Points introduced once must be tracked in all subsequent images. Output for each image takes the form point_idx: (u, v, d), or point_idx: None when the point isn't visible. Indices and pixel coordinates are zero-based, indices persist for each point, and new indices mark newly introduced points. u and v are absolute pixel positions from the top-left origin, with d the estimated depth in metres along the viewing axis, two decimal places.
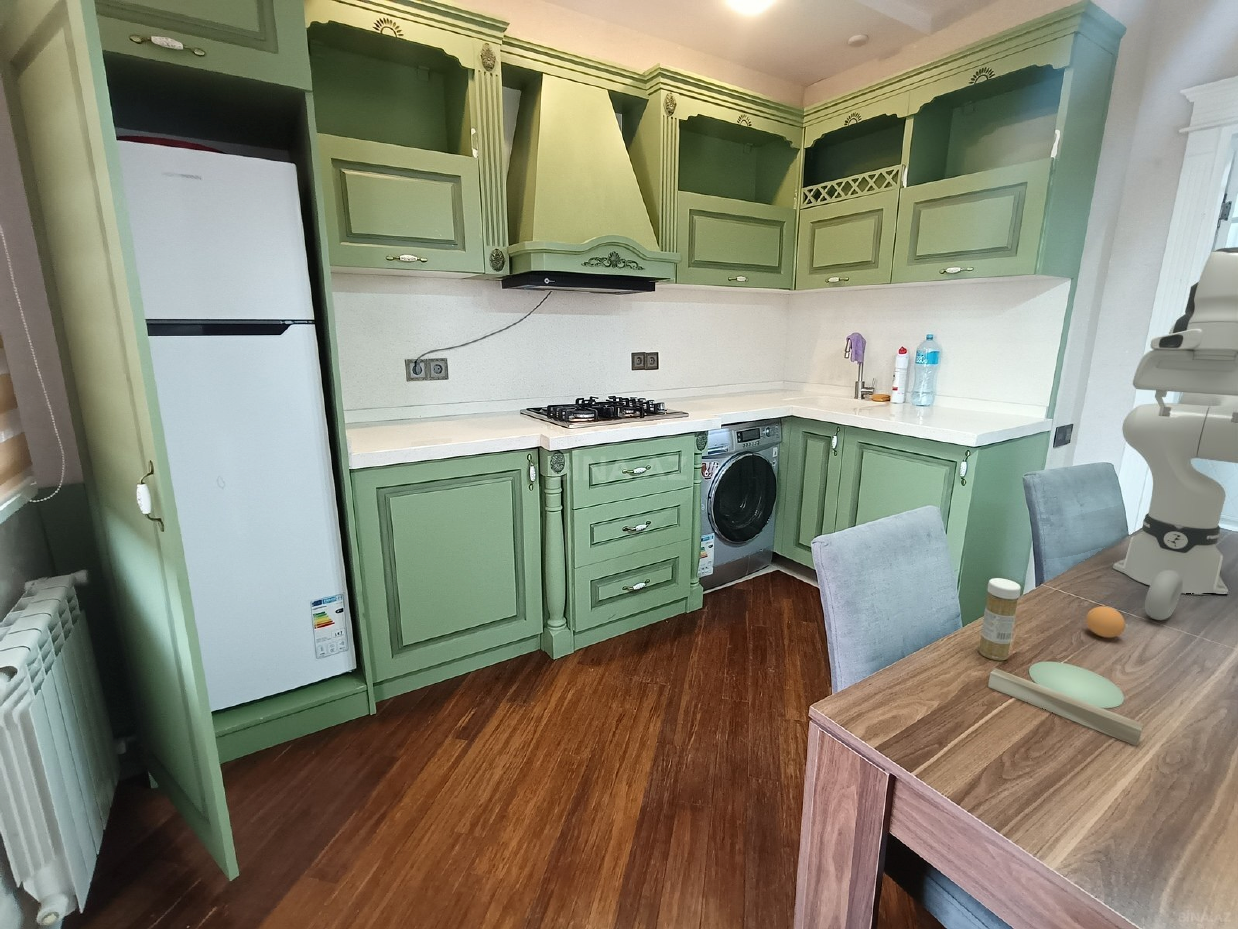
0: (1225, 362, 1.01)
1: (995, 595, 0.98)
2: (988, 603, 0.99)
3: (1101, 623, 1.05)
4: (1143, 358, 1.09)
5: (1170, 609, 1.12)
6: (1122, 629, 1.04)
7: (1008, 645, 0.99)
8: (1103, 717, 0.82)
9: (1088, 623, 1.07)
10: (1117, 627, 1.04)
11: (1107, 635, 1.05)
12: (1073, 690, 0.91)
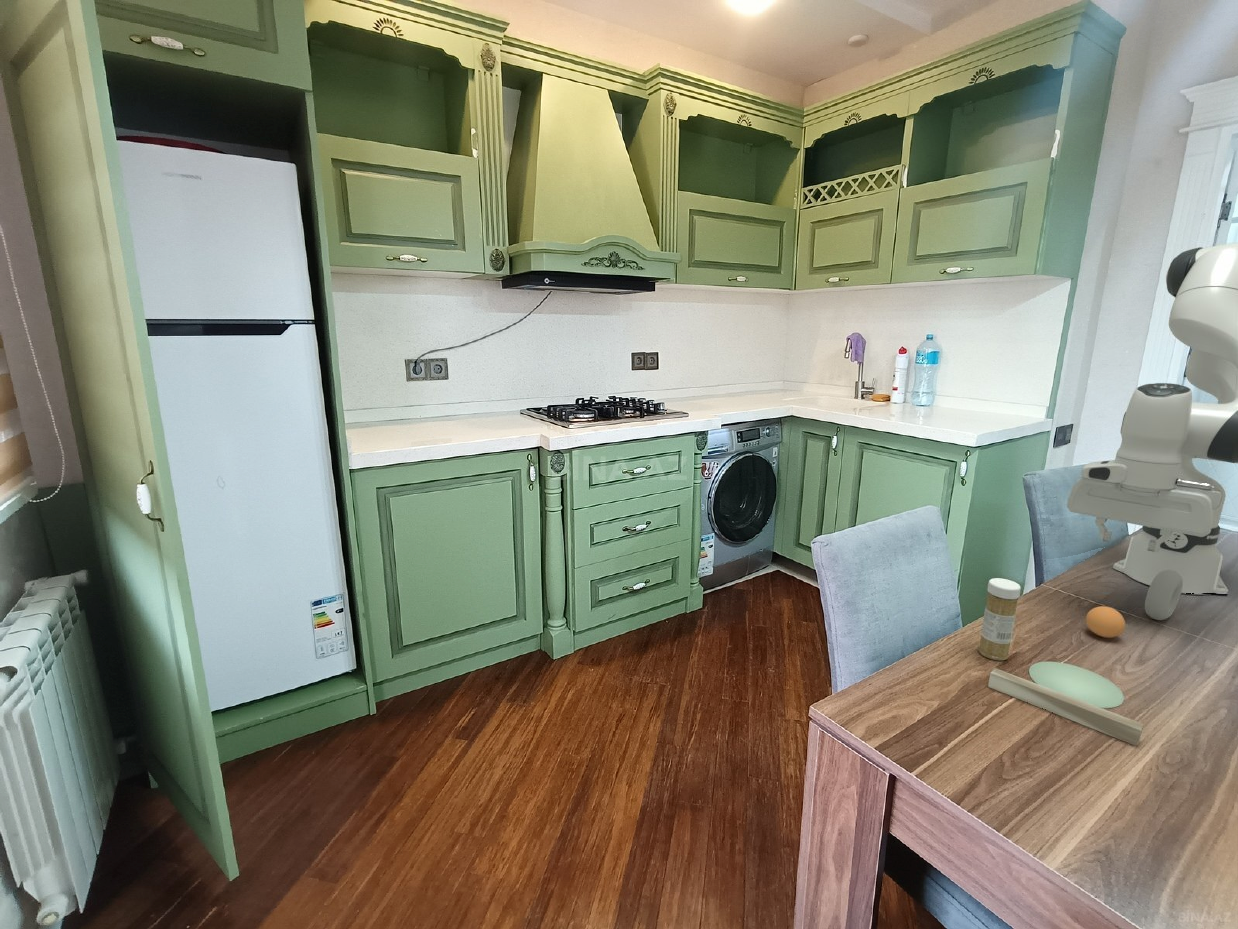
0: (1150, 497, 1.05)
1: (995, 595, 0.98)
2: (988, 603, 0.99)
3: (1101, 623, 1.05)
4: (1075, 485, 1.12)
5: (1170, 609, 1.12)
6: (1122, 629, 1.04)
7: (1008, 645, 0.99)
8: (1103, 717, 0.82)
9: (1088, 623, 1.07)
10: (1117, 627, 1.04)
11: (1107, 635, 1.05)
12: (1073, 690, 0.91)
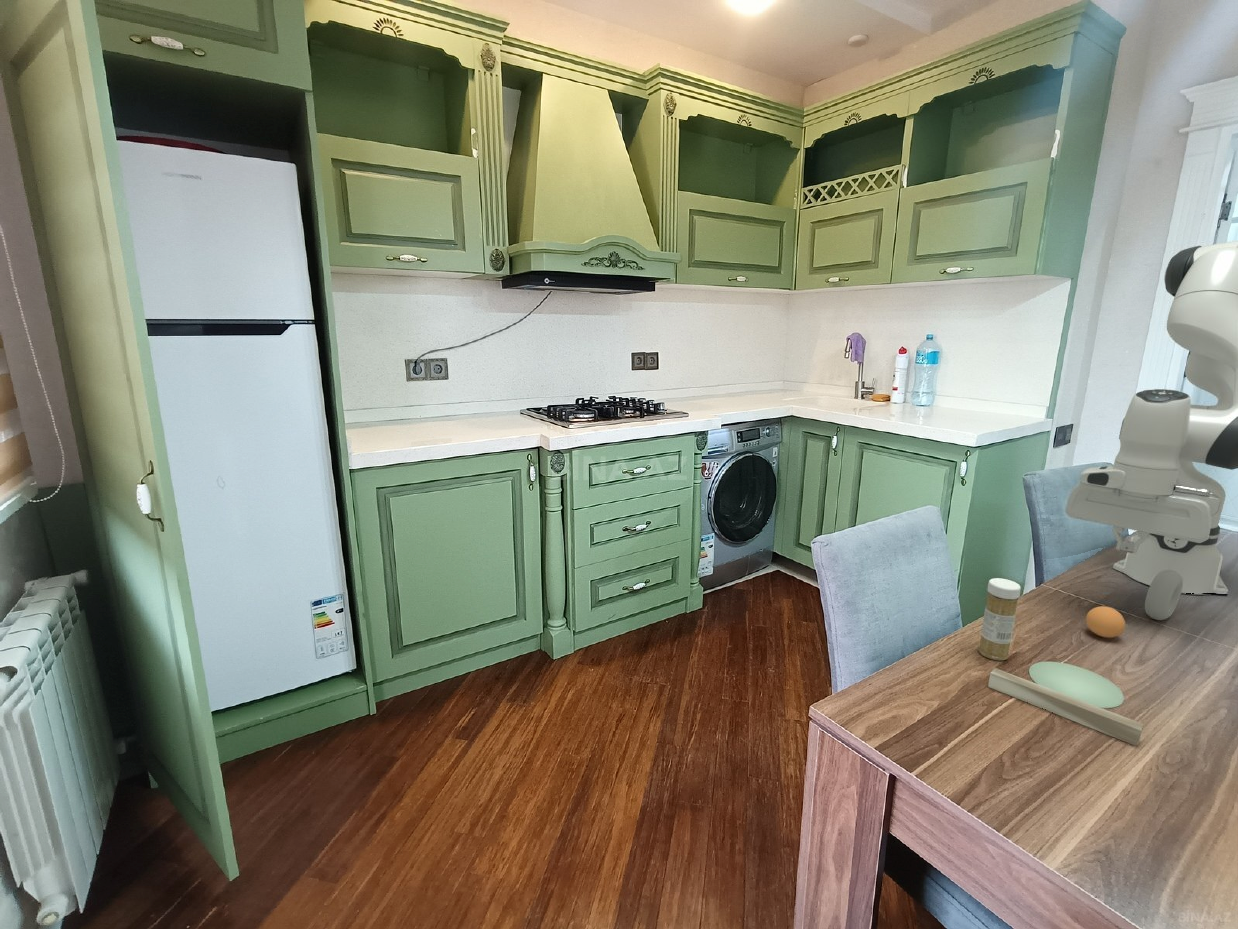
0: (1148, 503, 1.05)
1: (995, 595, 0.98)
2: (988, 603, 0.99)
3: (1101, 623, 1.05)
4: (1073, 490, 1.12)
5: (1170, 609, 1.12)
6: (1122, 629, 1.04)
7: (1008, 645, 0.99)
8: (1103, 717, 0.82)
9: (1088, 623, 1.07)
10: (1117, 627, 1.04)
11: (1107, 635, 1.05)
12: (1073, 690, 0.91)
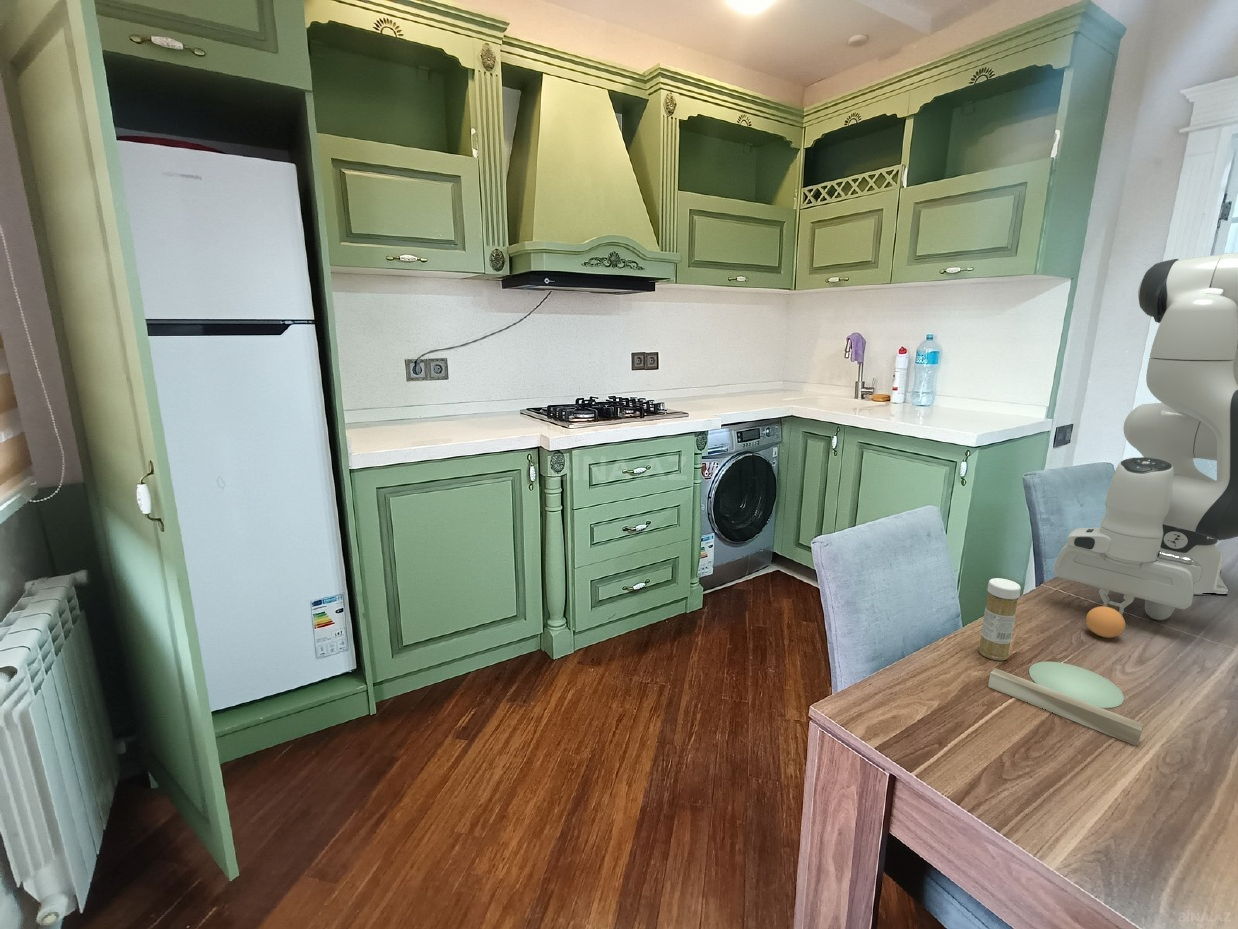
0: (1133, 568, 1.08)
1: (995, 595, 0.98)
2: (988, 603, 0.99)
3: (1101, 623, 1.05)
4: (1061, 551, 1.15)
5: (1170, 609, 1.12)
6: (1122, 629, 1.04)
7: (1008, 645, 0.99)
8: (1103, 717, 0.82)
9: (1088, 623, 1.07)
10: (1117, 627, 1.04)
11: (1107, 635, 1.05)
12: (1073, 690, 0.91)
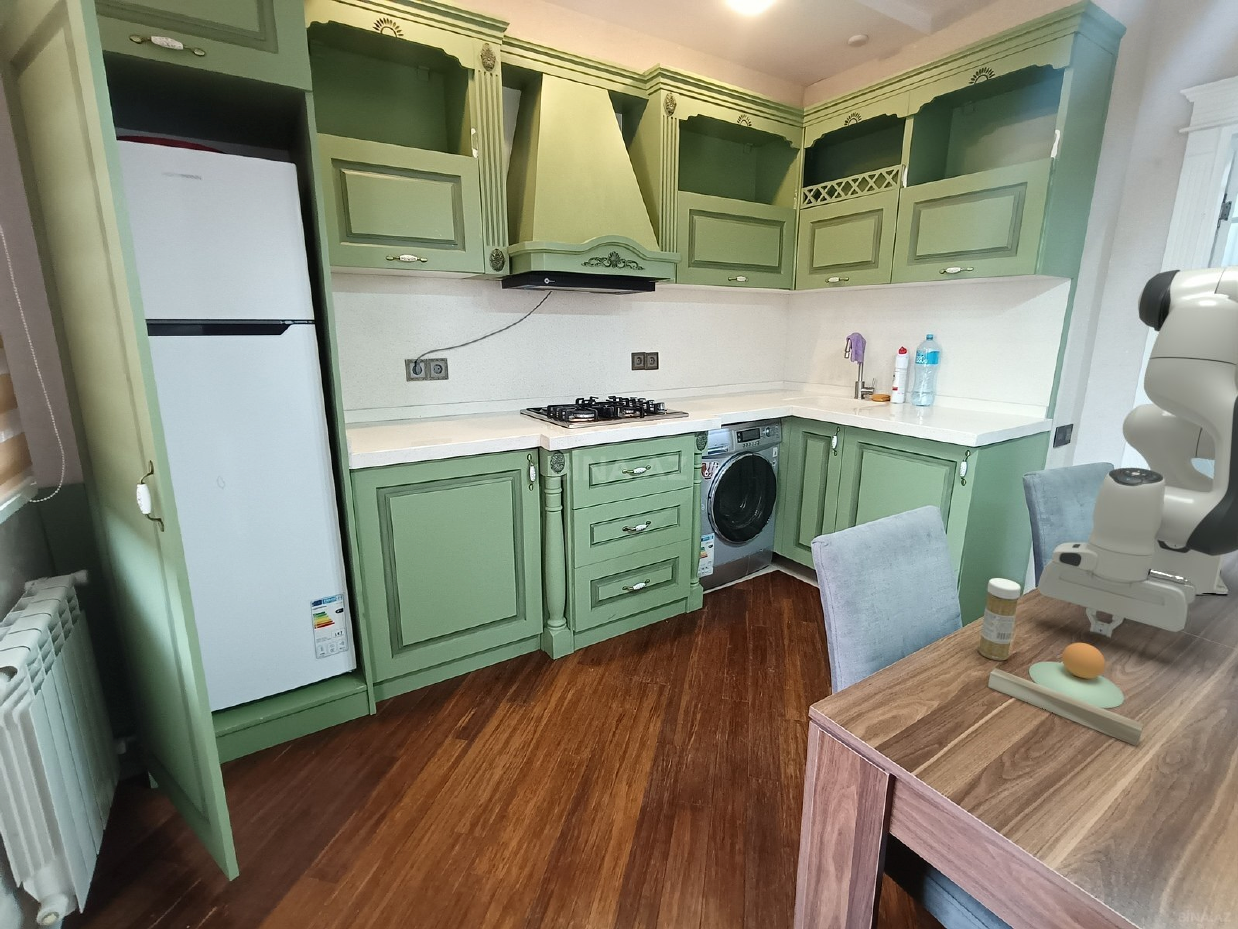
0: (1122, 587, 1.00)
1: (995, 595, 0.98)
2: (988, 603, 0.99)
3: (1077, 666, 0.93)
4: (1046, 568, 1.08)
5: None
6: (1101, 671, 0.92)
7: (1008, 645, 0.99)
8: (1103, 717, 0.82)
9: (1064, 663, 0.95)
10: (1095, 670, 0.92)
11: (1085, 677, 0.93)
12: (1073, 690, 0.91)
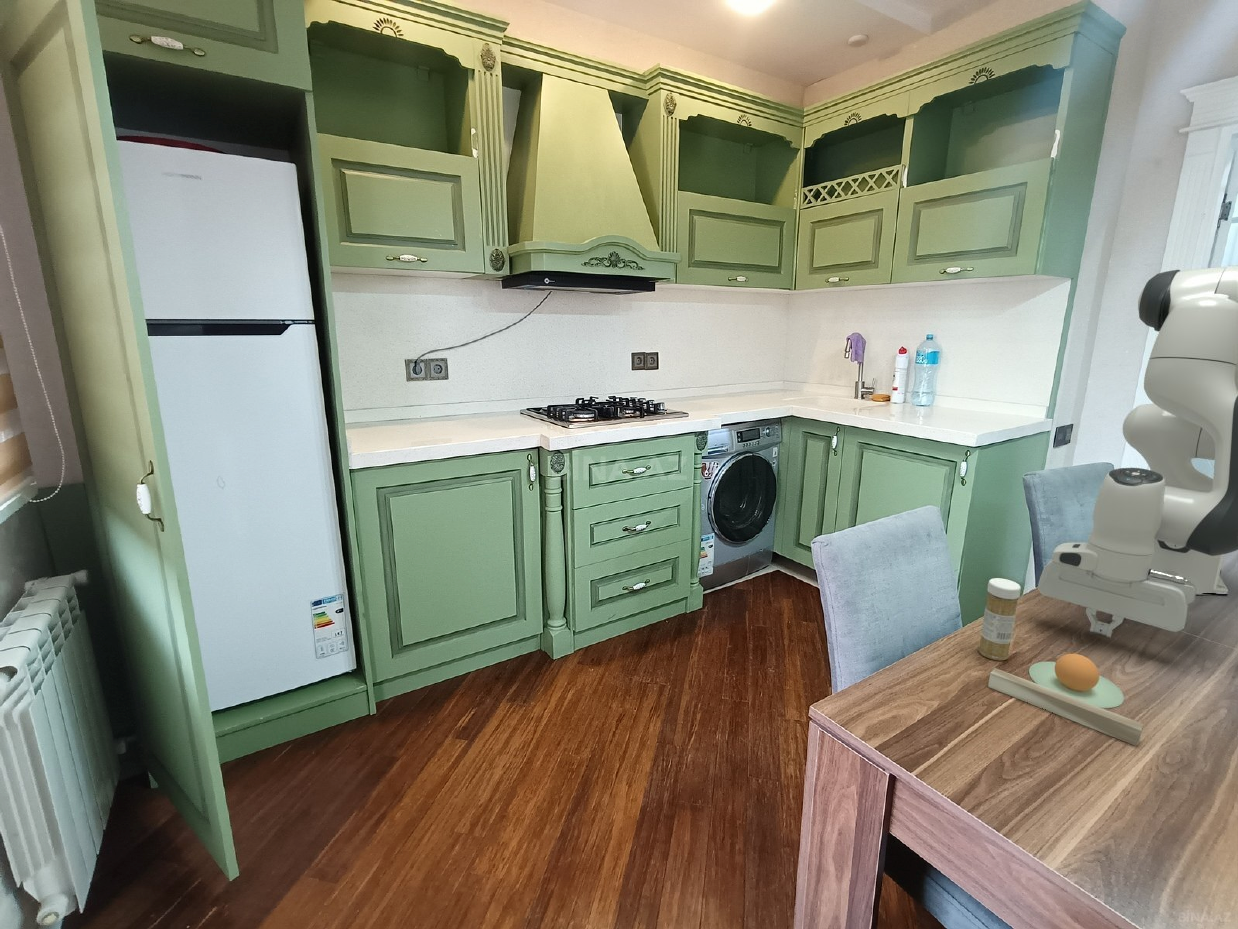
0: (1122, 587, 1.00)
1: (995, 595, 0.98)
2: (988, 603, 0.99)
3: None
4: (1046, 568, 1.08)
5: None
6: None
7: (1008, 645, 0.99)
8: (1103, 717, 0.82)
9: None
10: None
11: None
12: (1073, 690, 0.91)
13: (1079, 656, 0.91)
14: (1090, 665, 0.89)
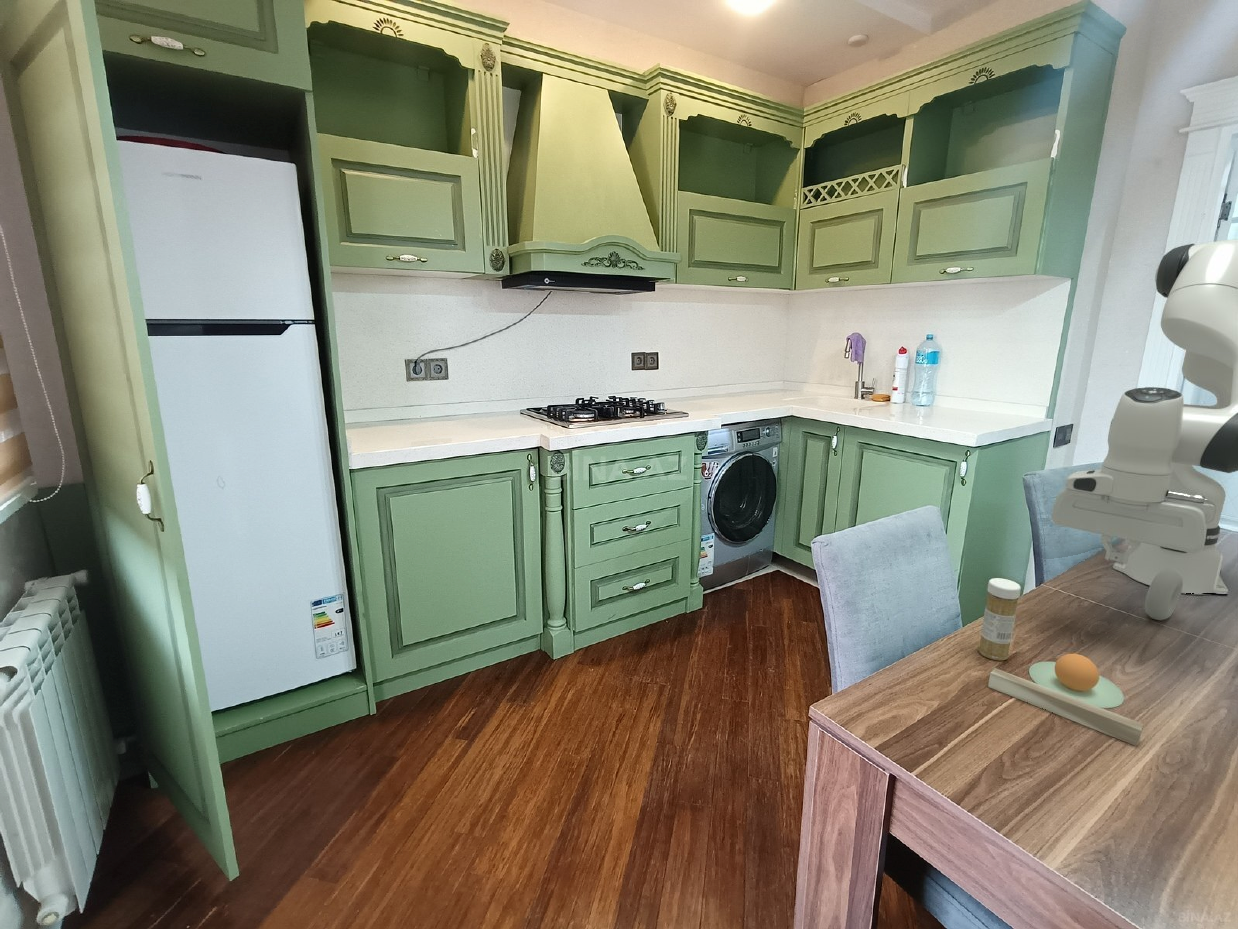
0: (1138, 510, 0.98)
1: (995, 595, 0.98)
2: (988, 603, 0.99)
3: None
4: (1059, 496, 1.05)
5: (1170, 609, 1.12)
6: None
7: (1008, 645, 0.99)
8: (1103, 717, 0.82)
9: None
10: None
11: None
12: (1073, 690, 0.91)
13: (1079, 656, 0.91)
14: (1090, 665, 0.89)
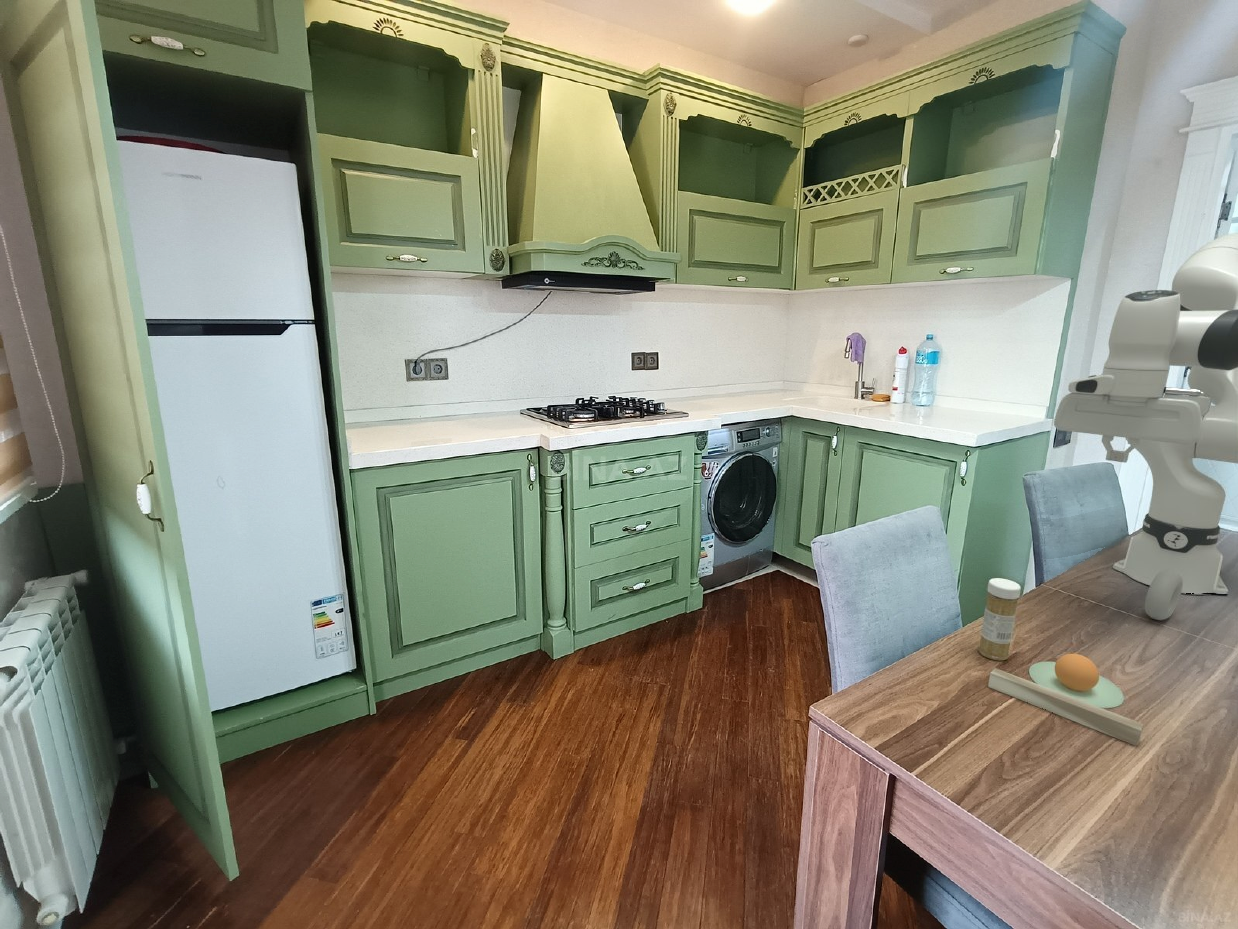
0: (1137, 407, 1.03)
1: (995, 595, 0.98)
2: (988, 603, 0.99)
3: None
4: (1062, 401, 1.10)
5: (1170, 609, 1.12)
6: None
7: (1008, 645, 0.99)
8: (1103, 717, 0.82)
9: None
10: None
11: None
12: (1073, 690, 0.91)
13: (1079, 656, 0.91)
14: (1090, 665, 0.89)
